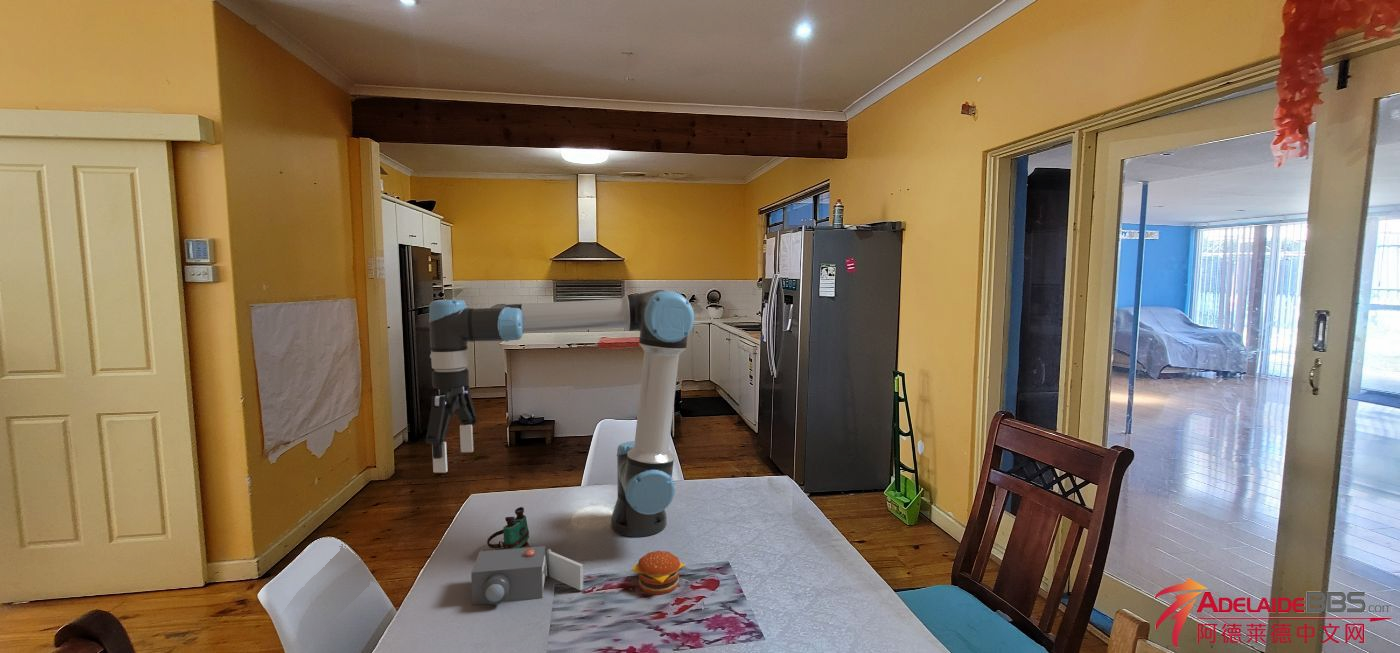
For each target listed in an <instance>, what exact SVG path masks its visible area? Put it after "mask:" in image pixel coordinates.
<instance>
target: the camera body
mask: <svg viewBox="0 0 1400 653" xmlns="http://www.w3.org/2000/svg"><path fill="white" fill-rule="evenodd" d="M470 575H471V576H470V577H471V578H470V579H471V603H472V605H484V604H488V605H499V604H501V603H503V602H504V603H505V602H506V603H507V602H514V601H524V600H525V601H526V600H535V599H536V600H537V599H543V597H544V596H543V594H544V588H545V582H546V577H547V564H546V546H543V545H542V546H530V547H528V548H516V549H504V550H497V549H492V550H482V551H479V553H478V555H477V558H476V560H475V563H474V565H473V568H472V570H471V572H470Z"/></svg>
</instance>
